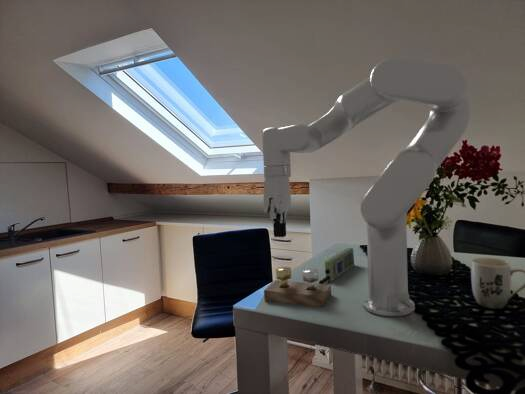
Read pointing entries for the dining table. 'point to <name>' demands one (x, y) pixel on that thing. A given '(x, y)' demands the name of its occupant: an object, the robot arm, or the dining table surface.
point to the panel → (298, 293)
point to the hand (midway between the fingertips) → (280, 236)
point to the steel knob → (310, 277)
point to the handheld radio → (338, 265)
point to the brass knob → (283, 275)
